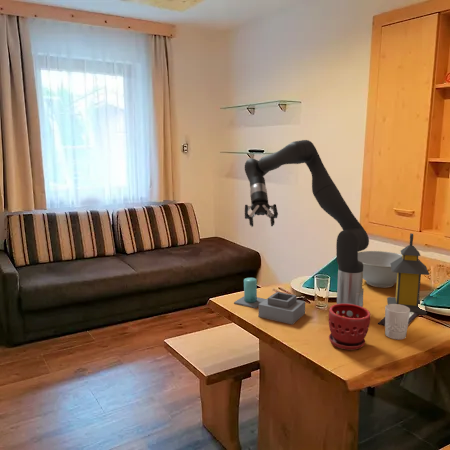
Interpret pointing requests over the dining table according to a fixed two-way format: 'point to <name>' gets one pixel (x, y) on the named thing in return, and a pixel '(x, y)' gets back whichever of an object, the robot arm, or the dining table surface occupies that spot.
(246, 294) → the teal cylindrical peg
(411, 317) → the chocolate bar
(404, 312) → the white cup
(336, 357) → the dining table surface
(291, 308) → the gray socket block
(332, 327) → the plant pot
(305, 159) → the robot arm
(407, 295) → the lantern
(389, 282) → the decorative bowl
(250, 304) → the mat
